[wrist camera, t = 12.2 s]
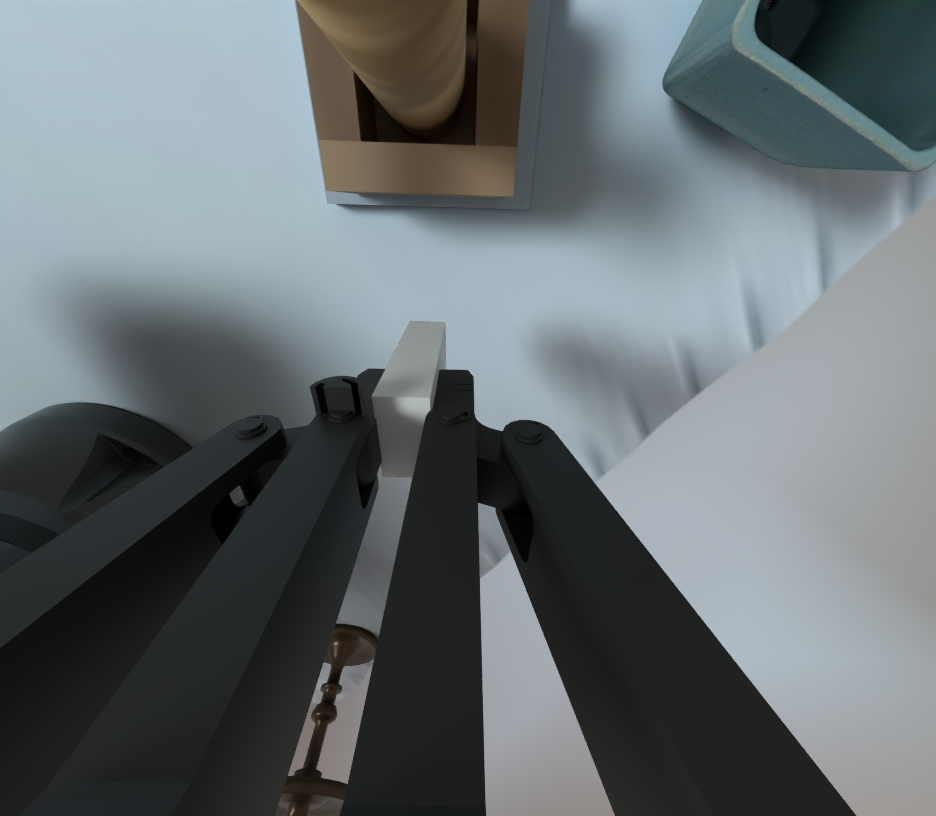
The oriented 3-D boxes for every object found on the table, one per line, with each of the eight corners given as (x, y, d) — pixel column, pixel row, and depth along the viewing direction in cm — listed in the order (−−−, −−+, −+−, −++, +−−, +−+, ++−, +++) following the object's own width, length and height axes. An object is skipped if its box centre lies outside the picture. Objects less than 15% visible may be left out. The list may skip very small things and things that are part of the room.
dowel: (388, 140, 16) (228, 0, 5) (380, 33, 14) (100, -558, 3) (464, 142, 16) (468, 9, 5) (465, 36, 14) (476, -530, 3)
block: (352, 193, 18) (325, 190, 14) (322, -41, 14) (276, -123, 10) (503, 198, 18) (513, 196, 15) (519, -31, 14) (537, -108, 10)
